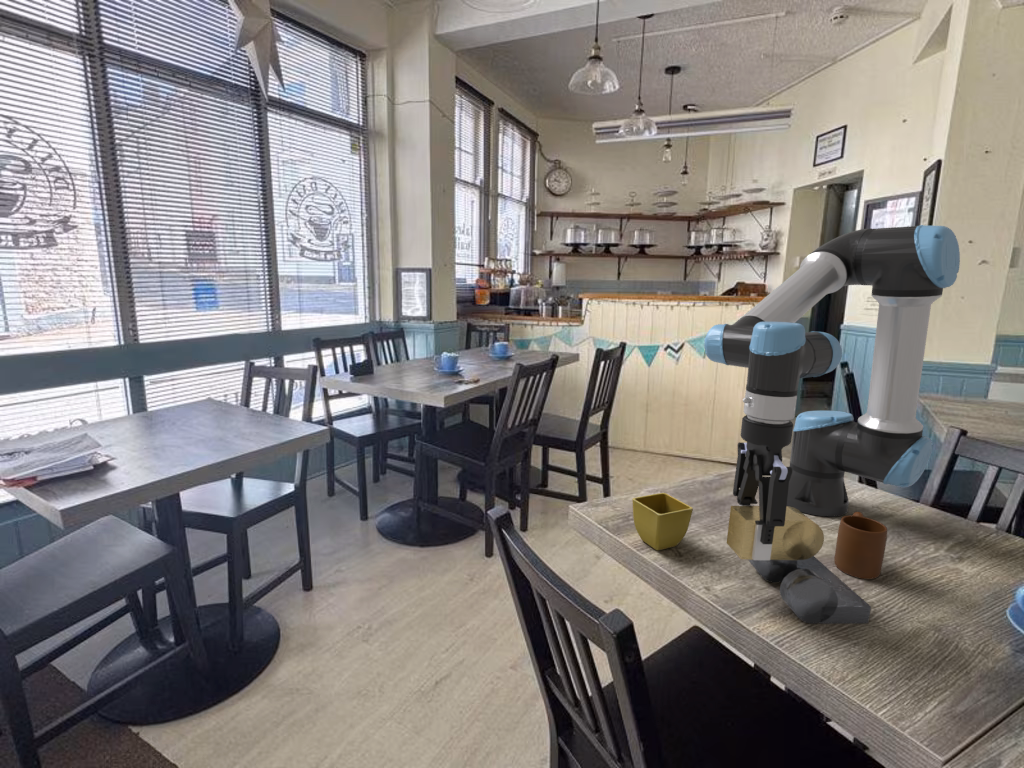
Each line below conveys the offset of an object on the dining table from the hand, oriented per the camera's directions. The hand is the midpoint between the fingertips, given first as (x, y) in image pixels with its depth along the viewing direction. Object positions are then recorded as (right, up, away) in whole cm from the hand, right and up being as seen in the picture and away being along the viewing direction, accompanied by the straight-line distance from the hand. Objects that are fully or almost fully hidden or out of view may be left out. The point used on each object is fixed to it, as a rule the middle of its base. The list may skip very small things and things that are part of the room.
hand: (751, 549), depth 91 cm
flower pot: (-11, -5, +19) cm, 22 cm away
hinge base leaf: (+10, -8, +2) cm, 13 cm away
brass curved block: (+4, 0, 0) cm, 4 cm away
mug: (+26, -7, +13) cm, 29 cm away
